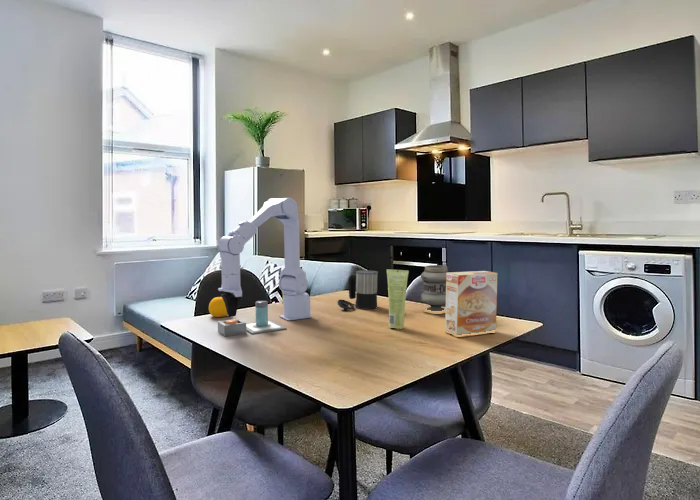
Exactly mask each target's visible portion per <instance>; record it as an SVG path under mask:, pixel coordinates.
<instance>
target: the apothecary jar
mask: <svg viewBox="0 0 700 500" xmlns="http://www.w3.org/2000/svg"><path fill="white" fill-rule="evenodd" d="M446 273H450V271H449V270H448V266H447V265H443V264H442V265H441V264H440V265H439V264H434V265H433V264H430V265H425V266H424V271H423V272H422V273H421V274H420V278H421V280H422V281H423V292H422V293H420V300H421V302H422V303H424V304H426V305H428V306H430V307H426V308H427V310H431V311H442V310H444V309H446V307H444V306H446ZM442 306H443V307H442Z"/></svg>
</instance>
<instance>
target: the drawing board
mask: <svg viewBox="0 0 700 500" xmlns="http://www.w3.org/2000/svg"><path fill="white" fill-rule="evenodd" d="M287 329H288V328H287V327H286V326H284V325H281V324H280V323H277V322H275V321H273V320H271V319H270V320H269V319H268V326H266V327H256V321H255V322H250V323H249V322H248V323H247V322H246V333H249V334H250V335H257V334H262V333H263V334H264V333H270V332H277V331H282V330H283V331H284V330H287Z"/></svg>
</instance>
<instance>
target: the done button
mask: <svg viewBox="0 0 700 500" xmlns="http://www.w3.org/2000/svg"><path fill="white" fill-rule="evenodd" d="M227 320H228V321H226V325H228V324H236V323H238V321H237V320H233V319H227Z"/></svg>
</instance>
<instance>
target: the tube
mask: <svg viewBox="0 0 700 500" xmlns="http://www.w3.org/2000/svg"><path fill="white" fill-rule="evenodd" d="M409 273H410V271H409V270H403V269H386V278H387V290H388V291H387V292H388V293H387V294H388V328H389V327H390V328H389V329H391V328H403V327H404V328H405V313H406V312H405V310H406V309H405V308H406V299H407V298H406V297H407V286H408V279H409ZM404 328H403V329H404Z"/></svg>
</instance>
